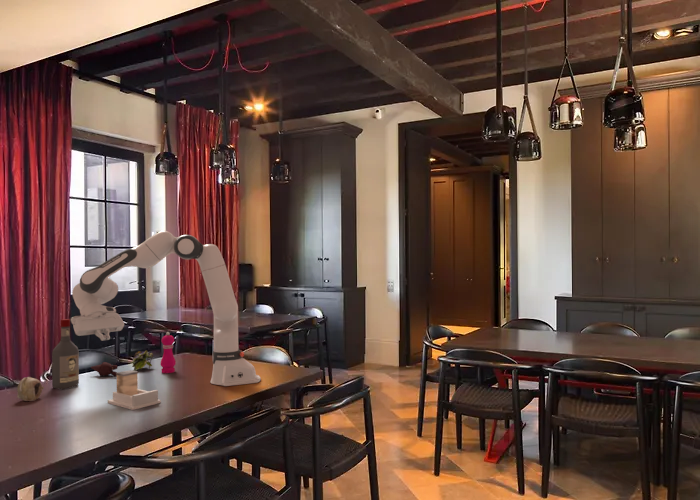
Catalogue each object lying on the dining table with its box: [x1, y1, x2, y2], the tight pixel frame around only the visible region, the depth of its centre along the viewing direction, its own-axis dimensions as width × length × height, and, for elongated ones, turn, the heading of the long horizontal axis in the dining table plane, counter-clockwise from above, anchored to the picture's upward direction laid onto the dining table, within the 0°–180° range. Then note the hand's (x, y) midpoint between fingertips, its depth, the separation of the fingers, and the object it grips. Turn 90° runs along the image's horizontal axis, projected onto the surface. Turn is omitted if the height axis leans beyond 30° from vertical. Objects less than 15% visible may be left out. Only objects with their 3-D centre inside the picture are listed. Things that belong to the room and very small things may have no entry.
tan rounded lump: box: [16, 376, 45, 402], centre depth 221 cm, size 9×8×10 cm
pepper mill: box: [160, 331, 176, 374], centre depth 271 cm, size 7×7×20 cm
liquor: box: [51, 318, 80, 390], centre depth 243 cm, size 9×9×30 cm
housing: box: [107, 388, 162, 411], centre depth 214 cm, size 18×12×5 cm
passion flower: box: [130, 350, 154, 371], centre depth 278 cm, size 11×11×12 cm
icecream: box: [90, 361, 118, 377], centre depth 264 cm, size 7×7×15 cm
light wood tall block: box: [116, 369, 139, 396], centre depth 217 cm, size 5×6×10 cm
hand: (106, 339), depth 226 cm, fingers closed
